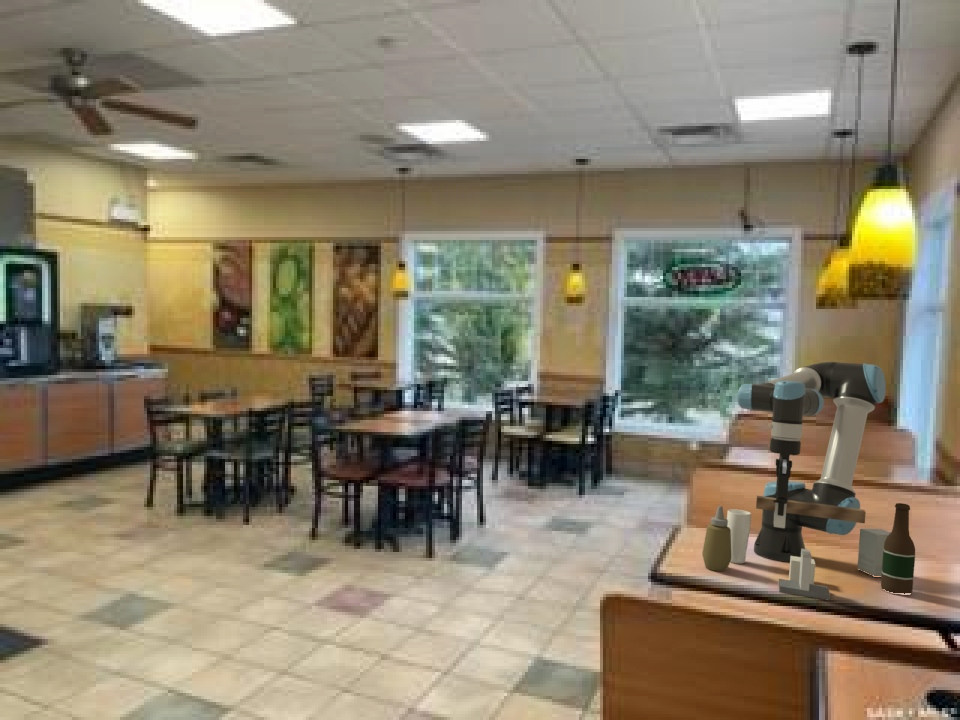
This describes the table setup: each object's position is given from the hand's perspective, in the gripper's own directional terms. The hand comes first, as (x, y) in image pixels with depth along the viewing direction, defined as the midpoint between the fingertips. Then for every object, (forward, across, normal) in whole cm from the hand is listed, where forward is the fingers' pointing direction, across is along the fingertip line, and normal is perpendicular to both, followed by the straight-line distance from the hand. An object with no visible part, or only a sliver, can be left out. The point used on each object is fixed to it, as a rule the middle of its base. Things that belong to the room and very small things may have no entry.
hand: (779, 525), depth 191 cm
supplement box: (+17, -31, +28) cm, 45 cm away
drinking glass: (+17, -20, -10) cm, 28 cm away
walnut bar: (-4, 0, +7) cm, 8 cm away
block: (+17, -10, +7) cm, 21 cm away
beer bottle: (+17, -15, +31) cm, 39 cm away
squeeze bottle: (+17, -9, -15) cm, 24 cm away
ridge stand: (+17, 0, +7) cm, 18 cm away
